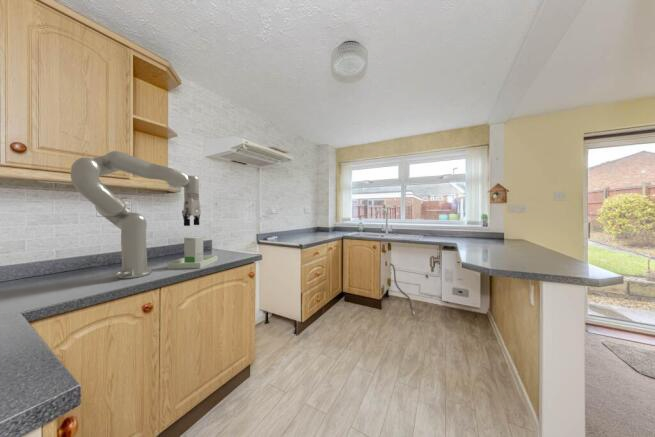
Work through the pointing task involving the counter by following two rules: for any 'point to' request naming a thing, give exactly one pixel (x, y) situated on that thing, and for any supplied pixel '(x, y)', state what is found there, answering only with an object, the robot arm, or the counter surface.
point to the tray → (181, 265)
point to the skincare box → (193, 249)
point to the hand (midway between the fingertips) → (191, 225)
